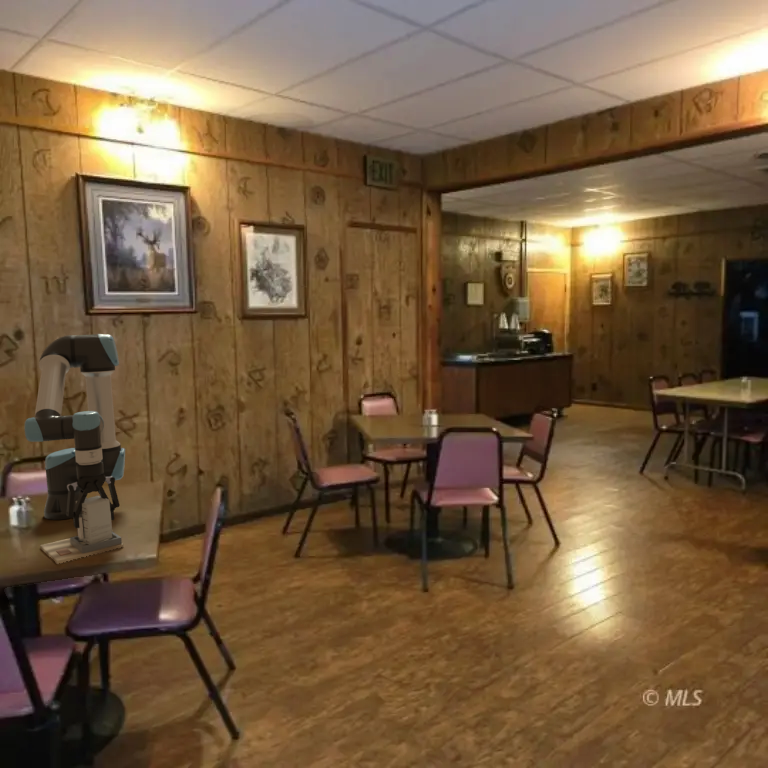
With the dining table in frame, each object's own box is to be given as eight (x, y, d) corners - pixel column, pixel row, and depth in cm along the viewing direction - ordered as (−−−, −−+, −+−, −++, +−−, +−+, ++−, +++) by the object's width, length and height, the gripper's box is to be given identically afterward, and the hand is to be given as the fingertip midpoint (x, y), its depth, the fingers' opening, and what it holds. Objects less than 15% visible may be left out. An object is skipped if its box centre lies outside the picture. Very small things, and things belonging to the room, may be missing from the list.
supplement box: (101, 533, 207) (98, 495, 205) (113, 538, 202) (110, 498, 200) (78, 540, 201) (75, 500, 199) (89, 545, 196) (86, 504, 195)
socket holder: (70, 543, 202) (69, 537, 202) (108, 534, 210) (108, 528, 209) (82, 553, 193) (81, 547, 193) (121, 543, 201) (121, 537, 201)
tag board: (40, 548, 202) (40, 544, 201) (103, 533, 214) (103, 529, 214) (57, 564, 188) (57, 559, 188) (123, 547, 201) (123, 543, 201)
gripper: (56, 470, 189) (63, 545, 192) (128, 458, 203) (133, 528, 205) (49, 466, 195) (55, 539, 197) (119, 454, 208) (124, 523, 211)
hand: (95, 533), depth 201 cm, fingers closed on supplement box, 8 cm apart
